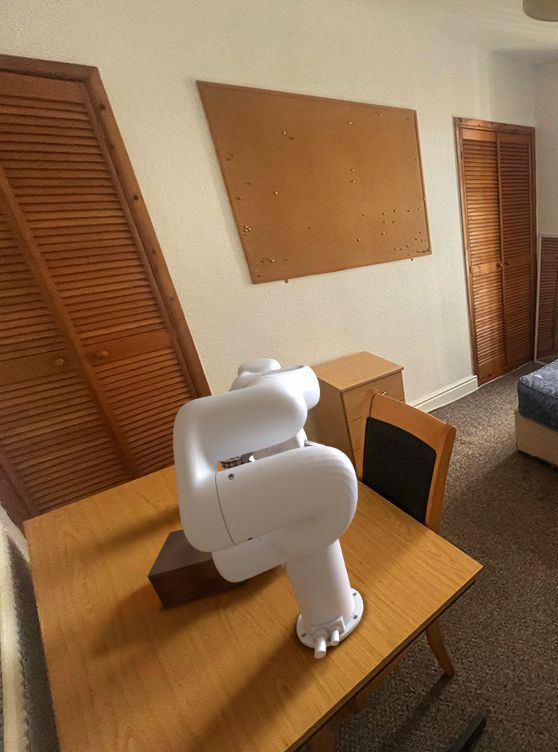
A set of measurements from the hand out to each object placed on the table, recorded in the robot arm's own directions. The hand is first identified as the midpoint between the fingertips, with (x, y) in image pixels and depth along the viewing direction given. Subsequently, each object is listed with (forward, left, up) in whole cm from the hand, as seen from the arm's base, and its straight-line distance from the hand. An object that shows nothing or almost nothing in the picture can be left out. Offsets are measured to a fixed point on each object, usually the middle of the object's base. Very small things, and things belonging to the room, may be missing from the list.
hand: (291, 481), depth 92 cm
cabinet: (0, +21, -20) cm, 29 cm away
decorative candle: (+33, +20, -20) cm, 44 cm away
